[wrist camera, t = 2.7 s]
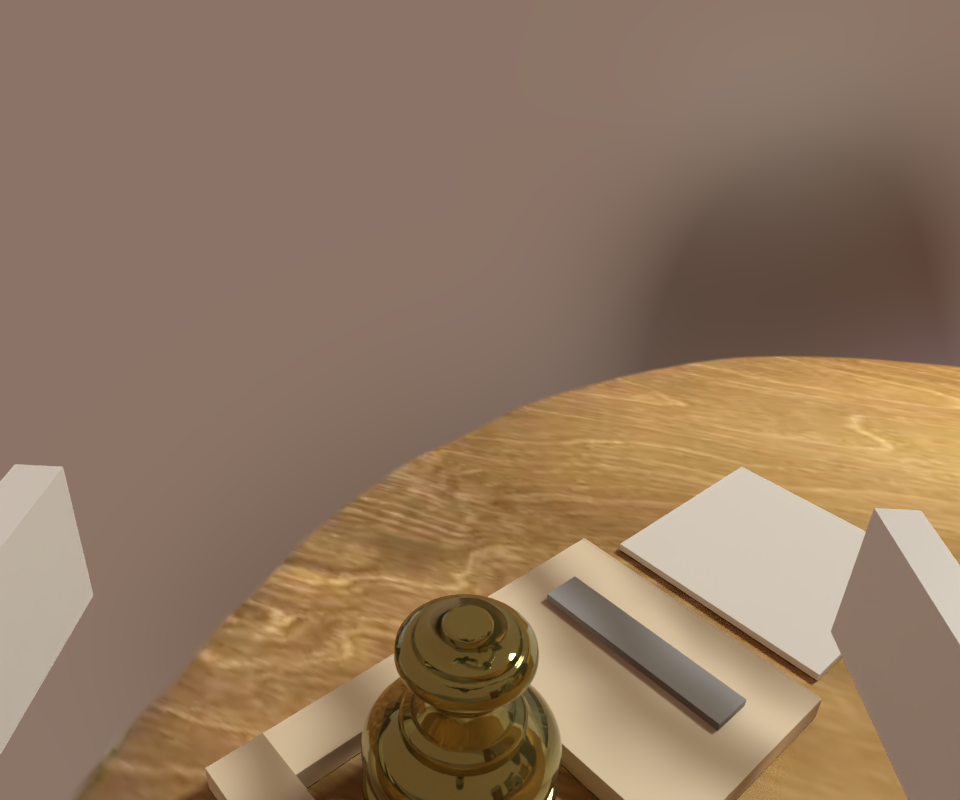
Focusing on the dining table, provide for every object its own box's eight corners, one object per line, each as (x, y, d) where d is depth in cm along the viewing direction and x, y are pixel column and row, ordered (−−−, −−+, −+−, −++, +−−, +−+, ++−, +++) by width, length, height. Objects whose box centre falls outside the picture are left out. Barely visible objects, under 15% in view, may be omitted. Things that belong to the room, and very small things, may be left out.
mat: (740, 471, 55) (741, 466, 54) (927, 570, 47) (930, 565, 47) (619, 549, 47) (620, 543, 47) (817, 680, 40) (819, 674, 40)
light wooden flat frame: (582, 555, 47) (585, 532, 46) (815, 717, 38) (824, 692, 37) (208, 787, 34) (203, 761, 33) (433, 1116, 25) (434, 1091, 24)
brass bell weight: (534, 722, 37) (555, 544, 32) (569, 894, 31) (602, 705, 26) (363, 734, 36) (357, 553, 31) (363, 913, 30) (355, 721, 25)
